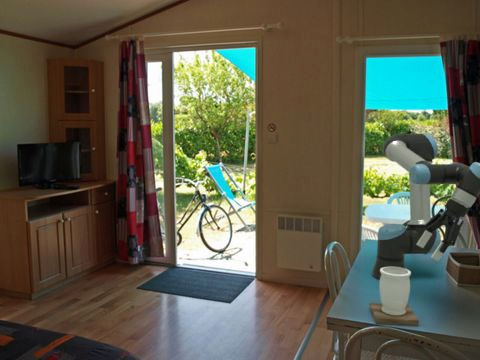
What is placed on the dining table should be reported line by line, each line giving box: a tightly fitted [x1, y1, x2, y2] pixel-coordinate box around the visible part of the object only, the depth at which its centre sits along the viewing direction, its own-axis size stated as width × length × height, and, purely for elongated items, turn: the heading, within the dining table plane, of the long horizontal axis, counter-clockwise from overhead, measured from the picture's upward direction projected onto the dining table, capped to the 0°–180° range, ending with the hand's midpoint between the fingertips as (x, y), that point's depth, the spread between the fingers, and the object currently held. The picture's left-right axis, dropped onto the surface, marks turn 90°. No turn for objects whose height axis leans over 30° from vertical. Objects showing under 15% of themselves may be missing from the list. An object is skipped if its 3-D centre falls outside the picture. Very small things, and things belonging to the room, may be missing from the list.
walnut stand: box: [369, 302, 420, 327], centre depth 167 cm, size 14×14×2 cm
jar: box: [379, 267, 412, 316], centre depth 166 cm, size 11×10×15 cm
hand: (426, 252), depth 171 cm, fingers open, 13 cm apart
